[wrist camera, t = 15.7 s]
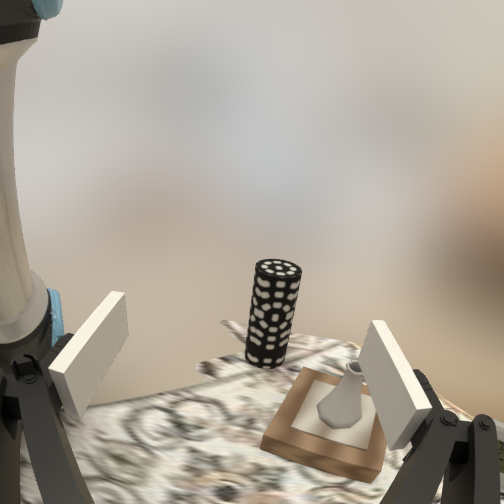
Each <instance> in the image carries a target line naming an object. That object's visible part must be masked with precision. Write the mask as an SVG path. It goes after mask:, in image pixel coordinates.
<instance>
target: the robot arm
mask: <svg viewBox="0 0 504 504" xmlns="http://www.w3.org/2000/svg"><path fill="white" fill-rule="evenodd" d="M62 4H63V0H0V504H20V443H21V428H22V423H23V428H24V433H25V438H26V443H27V447H28V451H29V455H30V459H31V463H32V467H33V470H34V474H35V477H36V481H37V484H38V487H39V490H40V493H41V496H42V499H43V502H44V504H95V503H94V501H93V499H92V497H91V495H90V493H89V491H88V488H87V486H86V484H85V482H84V479H83V477H82V475H81V472H80V470H79V467H78V465H77V462H76V460H75V457H74V454H73V452H72V449H71V446H70V444H69V441H68V438H67V435H66V432H65V429H64V426H63V423H62V419H61V416H60V414H59V410H60V409H61V407H62V406H63V409H64V411H65V413H66V414H67V415H69V416H72V417H75V418H78V419H81V418H82V416H83V414H84V412H85V410H86V408H87V407H88V405H89V403H90V401H91V399H92V398H93V396H94V394H95V392H96V391H97V389H98V387H99V385H100V383H101V382H102V380H103V378H104V376H105V375H106V373H107V371H108V370H109V368H110V366H111V364H112V363H113V361H114V359H115V358H116V356H117V354H118V353H119V351H120V349H121V348H122V346H123V344H124V343H125V341H126V339H127V338H128V336H129V332H128V323H127V313H126V303H125V293H121V292H115V291H112V292H111V293H110V294H109V295H108V296H107V297H106V298H105V300H104V301H103V302H102V303H101V304H100V306H98V308H97V309H96V310H95V311H94V312H93V313H92V315H91V316H90V317H89V318H88V319H87V321H86V322H85V323H84V324H83V325H82V327H81V328H80V329H79V330H78V331H77V333H76V334H71V333H67V334H66V335H64V326H63V317H62V309H61V301H60V295H59V292H58V291H56V290H51V289H50V288H48V289H46V286H45V284H44V282H43V280H42V279H41V278H40V277H39V276H38V275H37V274H36V273H35V272H33V271H32V270H30V268H29V264H28V259H27V254H26V250H25V245H24V239H23V233H22V228H21V221H20V215H19V207H18V199H17V191H16V180H15V168H14V147H13V107H14V87H15V74H16V65H17V62H18V60H19V59H20V57H21V56H22V55H23V54H24V53H25V52H26V51H27V50H28V49H29V48H30V47H31V46H32V45H33V44H34V43H35V42H36V41H37V38H38V32H39V27H40V22H41V20H42V19H44V20H47V19H50V18H52V17H55V16H57V15H58V14H59V12H60V10H61V8H62ZM358 362H359V365H360V368H361V370H362V373H363V376H364V378H365V381H366V384H367V387H368V389H369V392H370V395H371V398H372V400H373V403H374V406H375V409H376V412H377V415H378V417H379V420H380V423H381V426H382V429H383V432H384V435H385V438H386V441H387V444H388V447H389V450H397V449H404V448H405V447H406V446H407V444H408V443H409V441H411V443H412V446H413V447H412V448H411V450H410V451H409V452H408V454H407V455H406V456H405V457H404V459H403V461H404V463H403V464H402V466H401V468H400V470H399V472H398V474H397V475H396V477H395V479H394V481H393V482H392V484H391V486H390V487H389V489H388V491H387V492H386V494H385V496H384V497H383V499H382V500H381V502H380V504H431V503H432V501H433V499H434V497H435V494H436V492H437V489H438V487H439V485H440V482H441V480H442V477H443V475H444V480H443V489H442V496H441V503H440V504H500V464H499V450H498V439H497V431H496V425H495V422H494V421H493V419H492V418H490V417H489V416H487V415H484V414H479V415H477V416H476V417H475V418H474V420H473V421H472V422H469V421H460V420H459V418H458V417H457V416H456V414H454V413H453V412H451V411H448V410H444V408H443V407H442V405H441V403H440V401H439V399H438V397H437V396H436V394H435V392H434V390H433V388H432V387H431V385H429V381H428V380H427V378H426V377H425V375H424V374H423V373H422V372H420V371H419V370H418V369H415V370H412V369H411V367H410V365H409V363H408V361H407V360H406V358H405V356H404V354H403V353H402V351H401V349H400V347H399V346H398V344H397V342H396V341H395V339H394V337H393V335H392V334H391V332H390V330H389V329H388V327H387V325H386V324H385V322H384V321H382V320H371V323H370V326H369V329H368V332H367V335H366V338H365V340H364V343H363V346H362V349H361V352H360V354H359V357H358Z"/></svg>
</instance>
